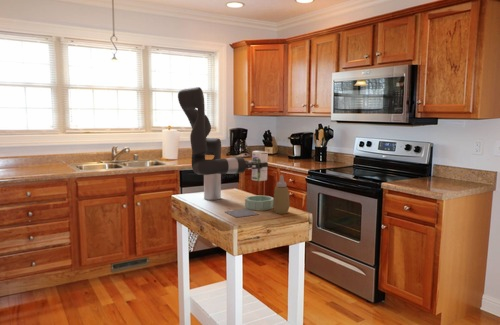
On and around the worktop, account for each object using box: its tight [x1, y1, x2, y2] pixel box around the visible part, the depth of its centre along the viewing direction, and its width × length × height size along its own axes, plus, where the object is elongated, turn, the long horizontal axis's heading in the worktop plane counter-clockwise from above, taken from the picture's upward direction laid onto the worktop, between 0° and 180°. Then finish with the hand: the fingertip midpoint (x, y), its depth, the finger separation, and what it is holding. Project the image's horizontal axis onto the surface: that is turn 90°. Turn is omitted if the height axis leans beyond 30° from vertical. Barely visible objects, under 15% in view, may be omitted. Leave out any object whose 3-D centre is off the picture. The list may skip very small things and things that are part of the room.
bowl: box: [244, 195, 274, 211], centre depth 198 cm, size 14×14×4 cm
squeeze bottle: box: [273, 174, 291, 215], centre depth 185 cm, size 8×8×18 cm
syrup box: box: [251, 150, 269, 182], centre depth 195 cm, size 6×6×14 cm
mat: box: [224, 208, 260, 219], centre depth 185 cm, size 12×12×1 cm
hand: (263, 163), depth 196 cm, fingers closed on syrup box, 6 cm apart
